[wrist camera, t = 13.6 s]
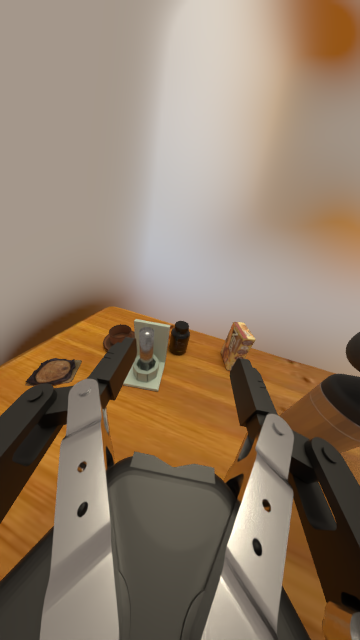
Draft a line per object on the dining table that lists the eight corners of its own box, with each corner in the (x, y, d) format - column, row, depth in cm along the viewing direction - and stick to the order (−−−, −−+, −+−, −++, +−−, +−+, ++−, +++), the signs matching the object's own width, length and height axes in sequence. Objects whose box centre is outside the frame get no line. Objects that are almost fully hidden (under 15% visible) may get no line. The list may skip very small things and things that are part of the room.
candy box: (237, 371, 48) (257, 339, 40) (226, 370, 48) (243, 338, 40) (229, 352, 56) (244, 322, 47) (219, 352, 55) (233, 321, 47)
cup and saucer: (100, 339, 52) (97, 326, 48) (131, 330, 59) (130, 318, 55) (110, 360, 45) (107, 347, 41) (143, 347, 52) (143, 334, 48)
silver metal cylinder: (148, 364, 44) (149, 325, 35) (154, 372, 42) (157, 333, 33) (138, 369, 42) (136, 329, 33) (143, 378, 40) (143, 338, 31)
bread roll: (83, 360, 44) (81, 352, 42) (70, 386, 37) (66, 377, 35) (44, 361, 41) (39, 353, 39) (22, 389, 35) (14, 380, 32)
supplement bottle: (168, 342, 55) (171, 318, 49) (184, 343, 57) (189, 319, 50) (169, 356, 50) (173, 330, 43) (187, 355, 51) (194, 331, 45)
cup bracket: (157, 391, 38) (162, 352, 30) (123, 385, 39) (117, 344, 30) (165, 362, 47) (170, 325, 38) (137, 356, 47) (135, 319, 39)
